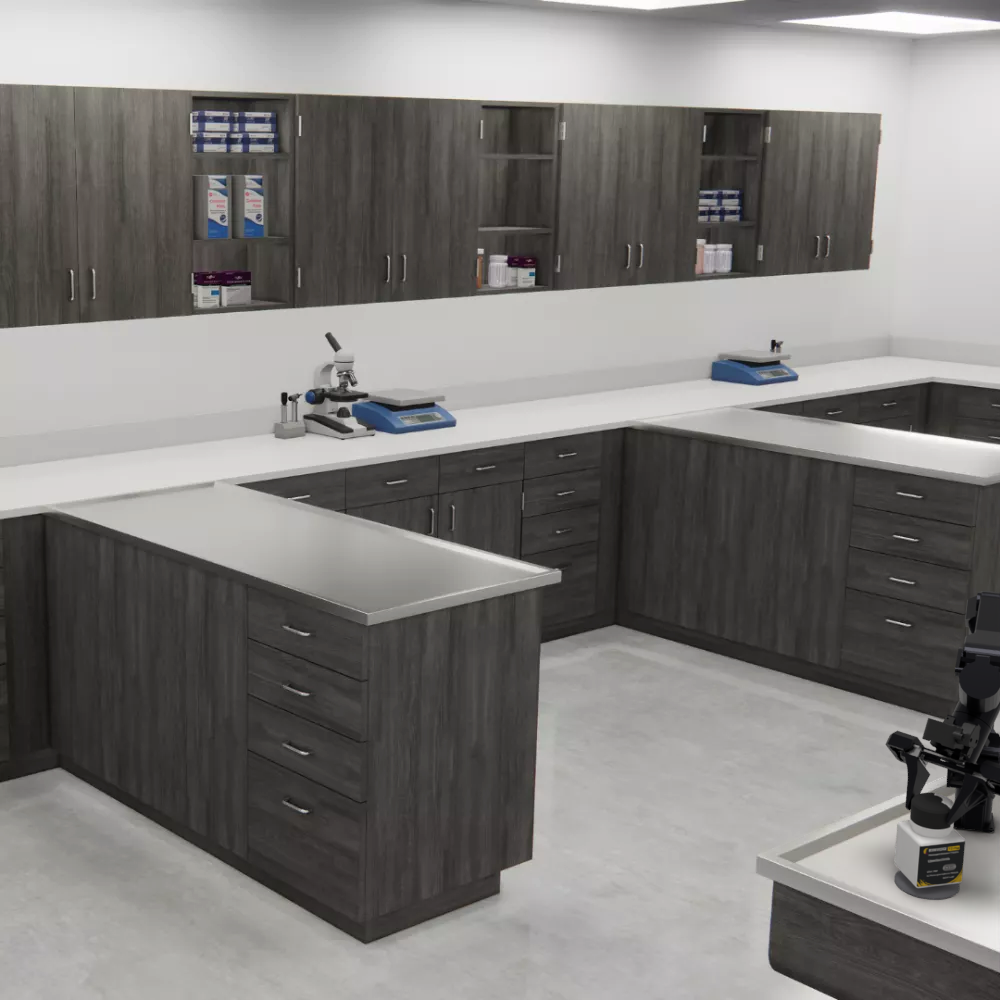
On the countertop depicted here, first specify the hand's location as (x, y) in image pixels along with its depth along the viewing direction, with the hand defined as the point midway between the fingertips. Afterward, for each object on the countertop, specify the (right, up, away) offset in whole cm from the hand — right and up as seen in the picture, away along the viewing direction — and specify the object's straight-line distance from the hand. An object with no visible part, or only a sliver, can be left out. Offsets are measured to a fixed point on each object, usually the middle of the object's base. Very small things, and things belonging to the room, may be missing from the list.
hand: (927, 816), depth 206 cm
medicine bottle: (+1, -9, +4) cm, 10 cm away
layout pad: (+1, -11, +3) cm, 11 cm away
